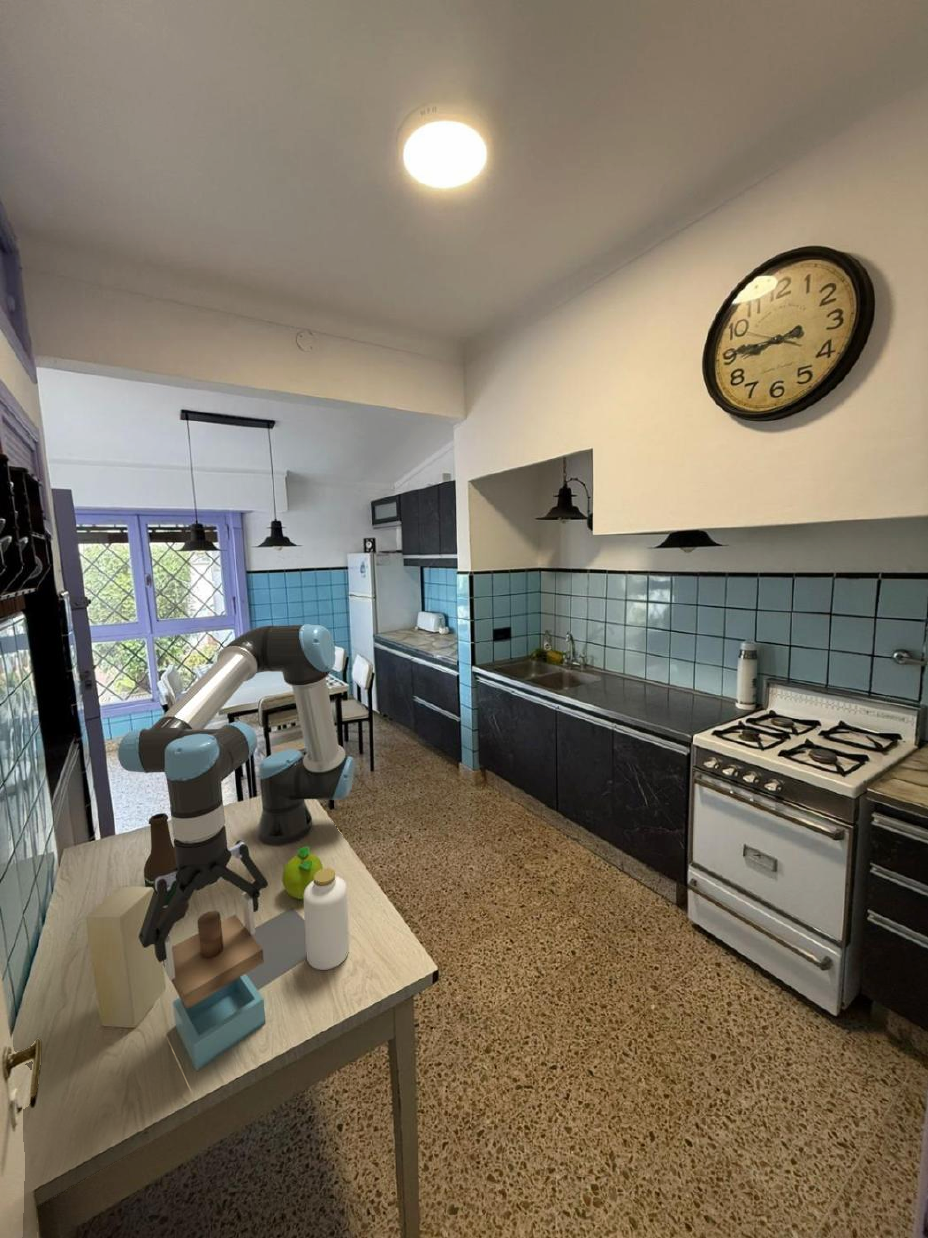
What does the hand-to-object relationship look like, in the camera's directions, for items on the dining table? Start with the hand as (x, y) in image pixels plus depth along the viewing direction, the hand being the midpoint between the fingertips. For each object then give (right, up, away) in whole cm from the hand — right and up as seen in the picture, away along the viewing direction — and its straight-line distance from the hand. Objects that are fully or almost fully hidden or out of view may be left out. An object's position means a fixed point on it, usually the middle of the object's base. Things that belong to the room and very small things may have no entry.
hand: (212, 951), depth 84 cm
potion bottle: (+15, -12, +16) cm, 25 cm away
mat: (+3, -12, +19) cm, 23 cm away
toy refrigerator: (-18, -14, +6) cm, 23 cm away
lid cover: (0, -2, 0) cm, 2 cm away
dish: (0, -14, +2) cm, 14 cm away
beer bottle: (-24, -11, +29) cm, 40 cm away
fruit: (+4, -10, +35) cm, 36 cm away
